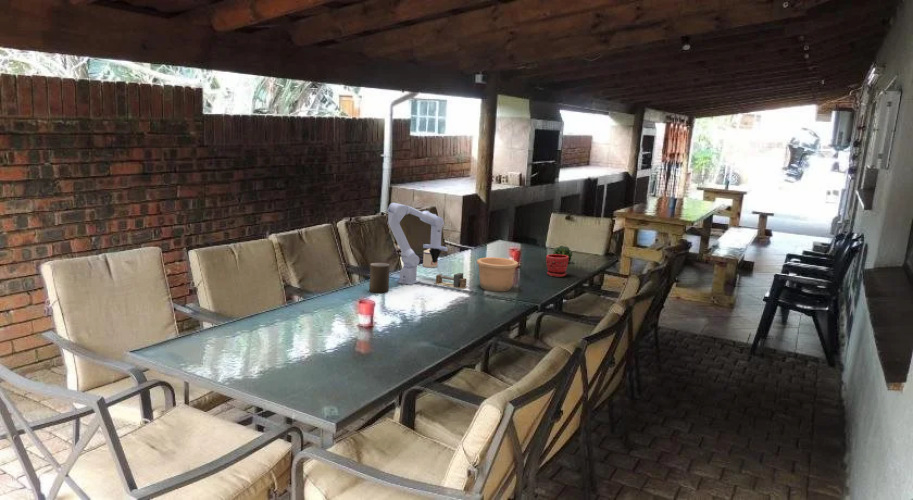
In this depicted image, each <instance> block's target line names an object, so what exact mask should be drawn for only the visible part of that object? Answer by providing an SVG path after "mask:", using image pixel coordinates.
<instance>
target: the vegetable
mask: <svg viewBox="0 0 913 500" xmlns="http://www.w3.org/2000/svg"><path fill="white" fill-rule="evenodd" d="M552 254H559V255H566V256H568V257H569V260H568V263H569V262H571V260H572V257H573V251H572V250H570V248H569V247H568V246H564V245H559V246H558V247H556V248H554V250H553V252H552ZM564 265H565V264H564Z"/></svg>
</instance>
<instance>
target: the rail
mask: <svg viewBox="0 0 913 500" xmlns="http://www.w3.org/2000/svg"><path fill="white" fill-rule="evenodd" d="M443 279H444V280H449V281H454V276H448V275H447V276H446V275H443V274H441V273H440V274H439V273H438V274H437V275H435V282H434V283H433V284H434V285H437V284H438V285H439V286H442V285H443V286H444V287H448V288H449V287H450V288H454V289H459V288H460V289H461V290H464V289H466V288H468V285H467V278H465V277H463V279H460V278H459V282H460V286H458V287H455V286H453V283H452V282H447V281H443ZM438 285H437V286H438Z"/></svg>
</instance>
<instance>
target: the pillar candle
mask: <svg viewBox="0 0 913 500" xmlns="http://www.w3.org/2000/svg"><path fill="white" fill-rule="evenodd" d="M369 271H370V272H369V292H371V293H375V294H385V293H388V292H389V290H390V289H389V288H390V264H389V263H385V262H374V263H373V262H372V263H370V267H369Z"/></svg>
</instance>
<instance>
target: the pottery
mask: <svg viewBox="0 0 913 500" xmlns="http://www.w3.org/2000/svg"><path fill="white" fill-rule="evenodd" d="M476 265H478V271H479V273H478V274H479V283H480V288H481V289H484V290H487V291H491V292H492V291H493V292H506V291H510V290H512V285H513V281H514V275H515V270H516V268H518V266H519V262H518V261H517V260H514V259H511V258H505V257H497V256H496V257H495V256H494V257H489V256H488V257H481V258H477V260H476Z"/></svg>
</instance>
